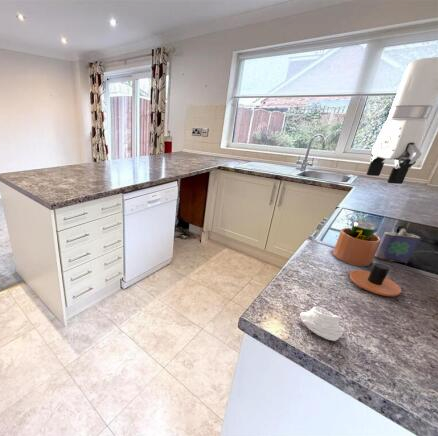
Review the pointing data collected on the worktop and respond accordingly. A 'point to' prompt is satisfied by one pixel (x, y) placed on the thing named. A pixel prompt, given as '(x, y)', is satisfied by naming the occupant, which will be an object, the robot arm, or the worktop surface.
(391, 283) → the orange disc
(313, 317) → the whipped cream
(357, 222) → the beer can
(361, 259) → the pot
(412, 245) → the flask
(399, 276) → the worktop surface
